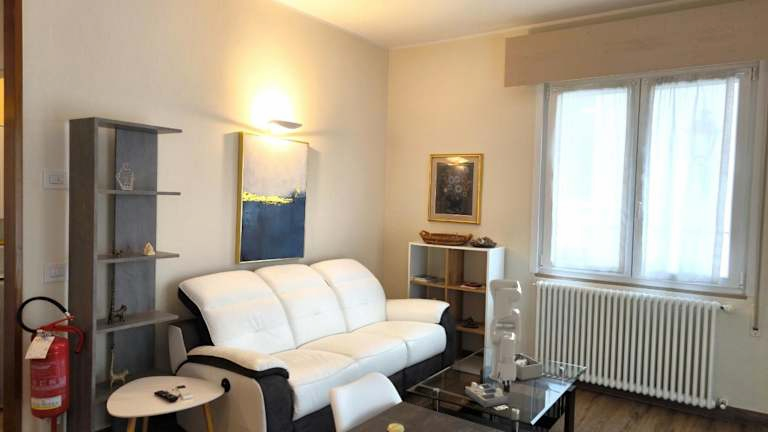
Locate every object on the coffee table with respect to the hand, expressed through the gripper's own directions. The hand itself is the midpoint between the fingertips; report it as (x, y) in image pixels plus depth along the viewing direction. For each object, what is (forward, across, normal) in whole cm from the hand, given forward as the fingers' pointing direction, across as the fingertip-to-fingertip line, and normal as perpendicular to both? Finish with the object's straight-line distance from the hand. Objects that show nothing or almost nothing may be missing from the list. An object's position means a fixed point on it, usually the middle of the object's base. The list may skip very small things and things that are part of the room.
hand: (506, 391), depth 291 cm
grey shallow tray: (+4, +9, -6) cm, 12 cm away
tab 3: (+3, +5, 0) cm, 5 cm away
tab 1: (+3, +13, -12) cm, 18 cm away
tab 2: (+3, +12, -6) cm, 14 cm away
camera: (+4, -34, -31) cm, 46 cm away
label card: (+4, +9, +8) cm, 13 cm away
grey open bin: (+4, -33, -31) cm, 46 cm away
